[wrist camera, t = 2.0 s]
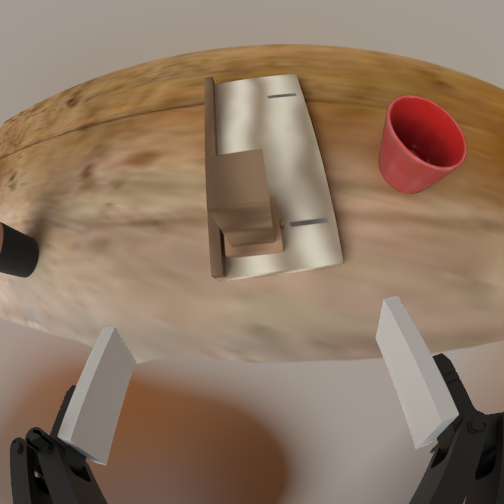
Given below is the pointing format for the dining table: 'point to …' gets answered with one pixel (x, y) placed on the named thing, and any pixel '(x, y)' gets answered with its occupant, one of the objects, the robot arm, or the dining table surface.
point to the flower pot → (419, 144)
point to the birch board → (274, 173)
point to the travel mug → (17, 252)
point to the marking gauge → (243, 204)
